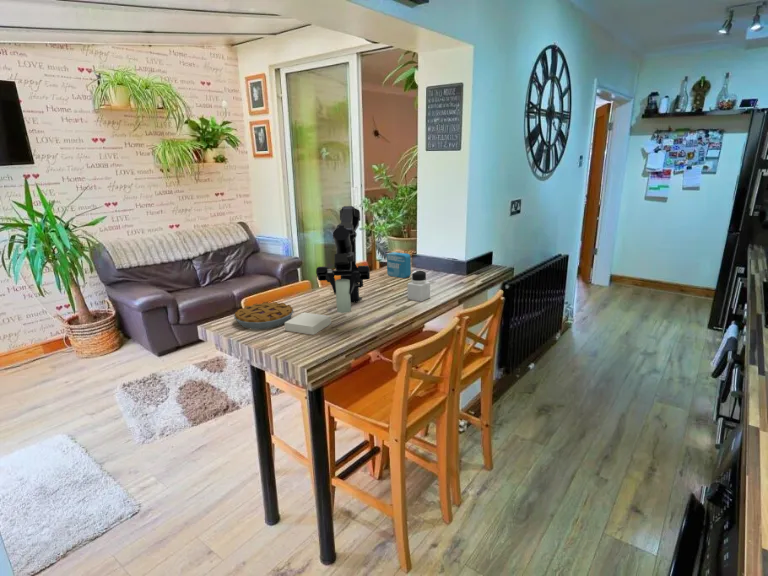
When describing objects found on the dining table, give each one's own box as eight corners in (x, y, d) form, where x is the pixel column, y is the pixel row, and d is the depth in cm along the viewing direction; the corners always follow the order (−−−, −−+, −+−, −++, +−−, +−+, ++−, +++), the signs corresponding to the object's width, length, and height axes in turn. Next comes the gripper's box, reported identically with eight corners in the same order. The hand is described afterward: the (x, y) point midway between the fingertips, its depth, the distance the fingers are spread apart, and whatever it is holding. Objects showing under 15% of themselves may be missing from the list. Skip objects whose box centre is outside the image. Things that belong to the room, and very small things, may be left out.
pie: (270, 308, 186) (269, 296, 184) (305, 318, 172) (304, 306, 171) (223, 323, 169) (222, 310, 168) (258, 335, 156) (256, 322, 155)
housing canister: (341, 307, 161) (340, 278, 158) (353, 309, 159) (352, 279, 156) (334, 311, 157) (332, 281, 154) (346, 313, 155) (344, 283, 152)
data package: (387, 275, 233) (386, 253, 229) (392, 273, 236) (391, 251, 233) (406, 278, 226) (405, 255, 222) (410, 276, 229) (410, 253, 226)
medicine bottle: (430, 297, 193) (430, 271, 190) (420, 301, 188) (420, 274, 185) (416, 295, 197) (416, 268, 194) (407, 299, 192) (407, 272, 189)
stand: (304, 319, 170) (303, 312, 169) (331, 323, 165) (330, 315, 164) (285, 330, 160) (284, 322, 159) (313, 334, 155) (312, 326, 154)
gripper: (315, 244, 156) (312, 283, 148) (368, 243, 155) (368, 281, 148) (319, 261, 165) (317, 298, 158) (369, 260, 165) (369, 297, 157)
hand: (342, 293), depth 155 cm, fingers closed on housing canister, 5 cm apart
